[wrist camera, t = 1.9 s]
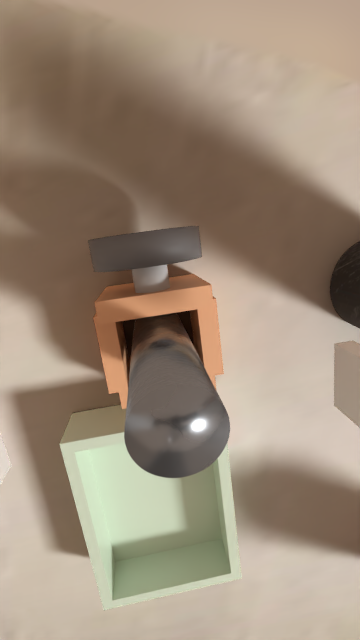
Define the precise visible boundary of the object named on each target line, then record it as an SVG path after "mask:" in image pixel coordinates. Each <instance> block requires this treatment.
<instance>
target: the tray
mask: <svg viewBox="0 0 360 640" xmlns="http://www.w3.org/2000/svg"><path fill="white" fill-rule="evenodd" d="M125 418H126V408H125V409H122V406H121V405H115V406H110V407H104V408H99V409H93V410H87V411H82V412H76V413H72V415H71V417H70V420H69V422H68V424H67V427H66V429H65V432H64V434H63V437H62V439H61V442H60V448H61V452H62V456H63V459H64V463H65V467H66V471H67V474H68V478H69V482H70V486H71V489H72V493H73V497H74V501H75V504H76V508H77V512H78V516H79V519H80V523H81V527H82V530H83V534H84V538H85V542H86V545H87V549H88V553H89V557H90V560H91V564H92V568H93V572H94V575H95V579H96V583H97V587H98V590H99V594H100V598H101V602H102V605H103V609H104V610H109V609H113V608H117V607H121V606H126V605H130V604H134V603H139V602H143V601H147V600H152V599H156V598H160V597H165V596H169V595H173V594H178V593H182V592H186V591H190V590H195V589H199V588H203V587H208V586H212V585H216V584H221V583H225V582H229V581H234V580H238V579H242V576H241V567H240V557H239V548H238V538H237V529H236V520H235V510H234V501H233V491H232V482H231V473H230V463H229V454H228V444H226V446H225V448H224V450H223V452H222V453H221V455H220V456H219V457H218V458H217V459H216V460H215V462H214V463H212V464H211V465H210V466H209V467H207V468H206V469H204V470H202V471H200V472H198V473H196V474H193V475H191V476H187V477H181V478H164V477H159V476H156V475H153V474H151V473H148V472H146V471H145V470H143V469H142V468H141V467H139V466H138V465H137V464H136V463H135V462H134V461H133V460H132V458H131V456H130V455H129V453H128V451H127V448H126V445H125V439H124V429H125Z"/></svg>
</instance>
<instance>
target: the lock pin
mask: <svg viewBox="0 0 360 640" xmlns="http://www.w3.org/2000/svg"><path fill="white" fill-rule="evenodd" d="M229 432H230V422H229V417H228V414H227V411H226V409H225V407H224V405H223V403H222V401H221V399H220V397H219V395H218V393H217V391H216V389H215V387H214V385H213V383H212V381H211V379H210V377H209V375H208V373H207V371H206V369H205V367H204V366H203V364H202V362H201V360H200V358H199V356H198V354H197V352H196V350H195V348H194V346H193V344H192V342H191V340H190V338H189V336H188V334H187V332H186V330H185V328H184V326H183V324H182V322H181V320H180V318H179V316H178V315H177V314H176V313H170V314H163V315H157V316H150V317H144V318H137V319H136V321H135V324H134V332H133V342H132V353H131V364H130V375H129V385H128V396H127V407H126V418H125V429H124V439H125V445H126V448H127V451H128V453H129V455H130V456H131V458H132V460H133V461H134V462H135V463H136V464H137V465H138V466H139V467H141V468H142V469H143V470H145V471H146V472H148V473H151V474H153V475H156V476H159V477H164V478H181V477H187V476H191V475H193V474H196V473H198V472H200V471H202V470H204V469H206V468H207V467H209V466H210V465H211V464H212V463H214V462H215V460H216V459H217V458H218V457H219V456H220V455H221V453H222V452H223V450H224V448H225V446H226V444H227V441H228V438H229Z"/></svg>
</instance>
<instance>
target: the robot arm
mask: <svg viewBox="0 0 360 640" xmlns="http://www.w3.org/2000/svg"><path fill="white" fill-rule="evenodd" d="M334 406H335V407H337V408H338V409H339V410H340V411H341V412H342V413H344V414H345V415H346V416H347V417H348V418H349V419H350V420H352V421H353V422H354V423H355V424H356V425H357V426H358V427H360V344H359V343H357V342H355V341H348V342H342V343H336V344H335V360H334ZM10 467H11V463H10V460H9V457H8V454H7V451H6V448H5V445H4V442H3V438H2V435H1V432H0V485H1V483H2V481H3V480H4V478H5V476H6V474H7V473H8V471H9V469H10Z"/></svg>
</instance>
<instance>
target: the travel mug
mask: <svg viewBox="0 0 360 640" xmlns="http://www.w3.org/2000/svg"><path fill="white" fill-rule="evenodd" d="M330 294H331V300H332V303H333V306H334V308H335V310H336V311H337V313H338V314H339V315H340V316H341V317H342V318H343V319H344V320H345V321H347V322H348V323H350V324H352V325H354V326H356V327H358V328H360V242H358V243H356V244H355V245H353V246H352V247H351V248H349V249H348V250H347V251H346V252H345V253H344V255H343V256H342V257H341V258H340V260H339V261H338V263H337V265H336V267H335V269H334V272H333V274H332V278H331V285H330Z"/></svg>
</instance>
